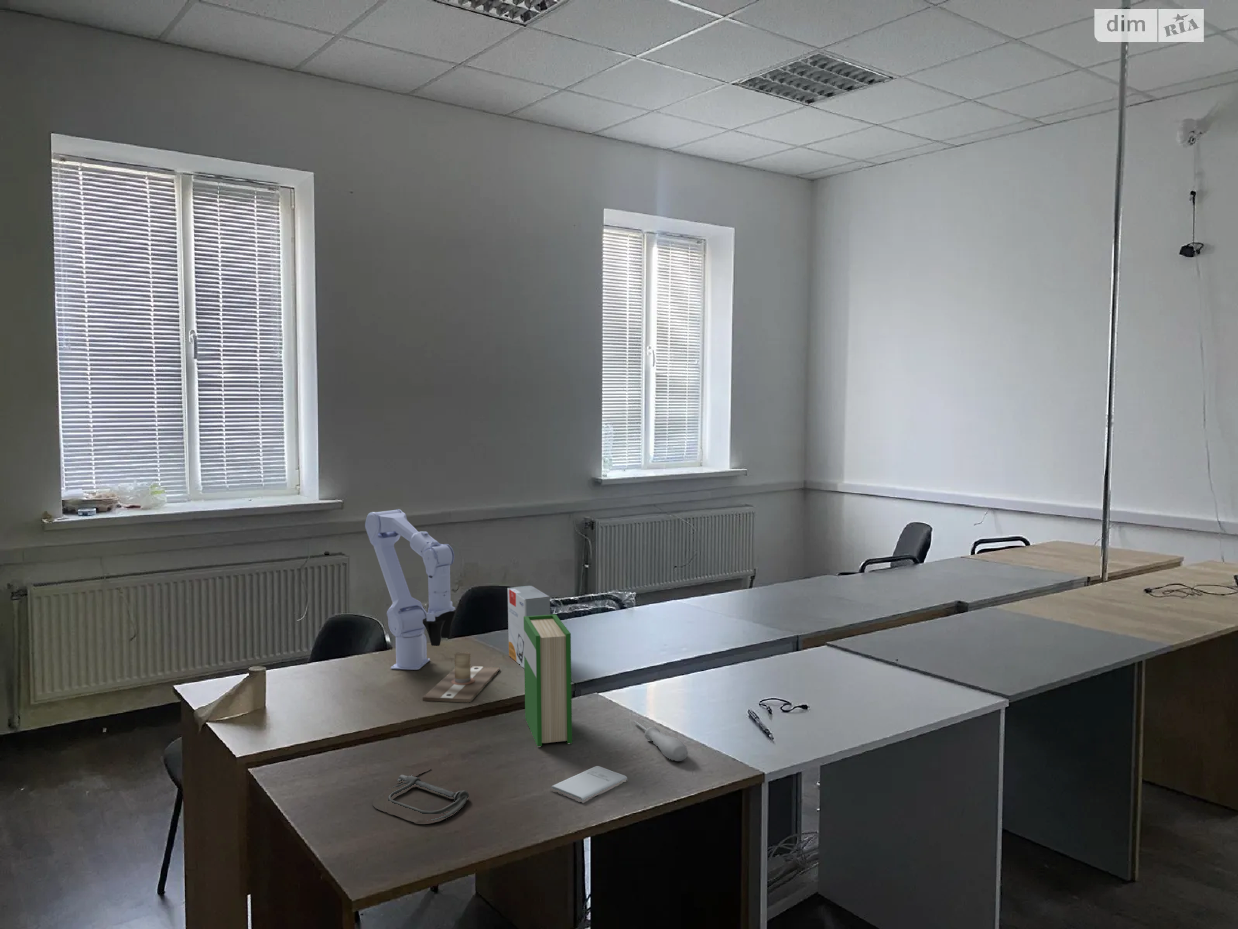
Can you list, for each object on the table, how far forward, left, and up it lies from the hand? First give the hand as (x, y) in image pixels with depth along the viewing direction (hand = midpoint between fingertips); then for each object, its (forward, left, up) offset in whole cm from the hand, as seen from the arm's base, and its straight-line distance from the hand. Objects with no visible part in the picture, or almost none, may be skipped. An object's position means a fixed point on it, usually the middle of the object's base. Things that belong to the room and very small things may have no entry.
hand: (440, 641), depth 238 cm
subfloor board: (+6, +8, -9) cm, 14 cm away
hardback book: (+35, +37, -10) cm, 52 cm away
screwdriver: (+39, +62, -10) cm, 73 cm away
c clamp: (+70, +22, -10) cm, 75 cm away
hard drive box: (-16, +20, -10) cm, 27 cm away
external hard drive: (+62, +51, -10) cm, 81 cm away
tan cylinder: (+6, +8, -8) cm, 13 cm away
